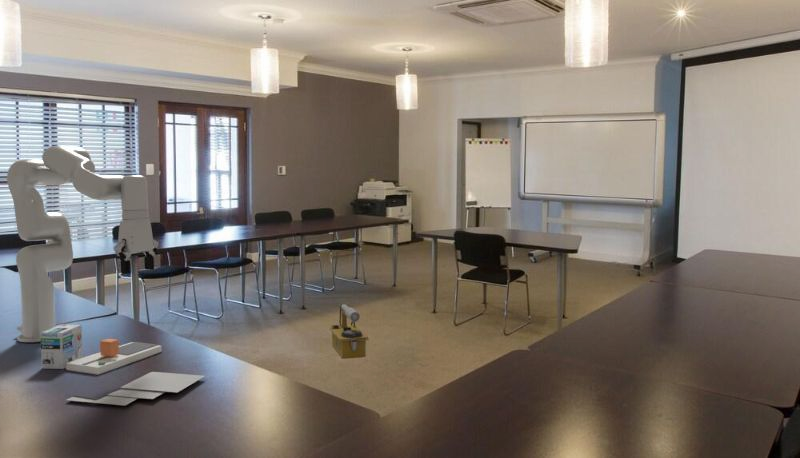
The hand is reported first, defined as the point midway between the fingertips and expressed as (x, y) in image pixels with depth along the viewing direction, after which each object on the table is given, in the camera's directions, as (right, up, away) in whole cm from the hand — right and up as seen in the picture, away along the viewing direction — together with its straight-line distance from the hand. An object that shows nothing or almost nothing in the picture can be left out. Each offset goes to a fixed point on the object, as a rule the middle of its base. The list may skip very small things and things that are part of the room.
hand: (138, 271), depth 187 cm
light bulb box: (-20, -27, -7) cm, 34 cm away
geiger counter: (+63, -27, +12) cm, 69 cm away
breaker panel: (-5, -27, -3) cm, 27 cm away
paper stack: (+12, -29, -27) cm, 41 cm away
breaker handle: (-6, -25, -5) cm, 26 cm away
